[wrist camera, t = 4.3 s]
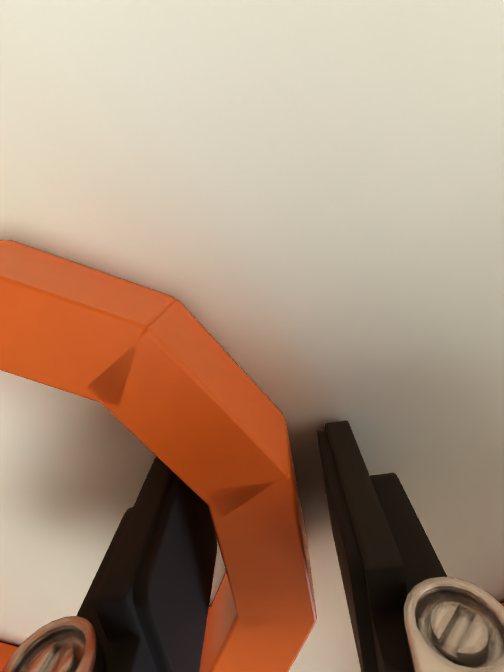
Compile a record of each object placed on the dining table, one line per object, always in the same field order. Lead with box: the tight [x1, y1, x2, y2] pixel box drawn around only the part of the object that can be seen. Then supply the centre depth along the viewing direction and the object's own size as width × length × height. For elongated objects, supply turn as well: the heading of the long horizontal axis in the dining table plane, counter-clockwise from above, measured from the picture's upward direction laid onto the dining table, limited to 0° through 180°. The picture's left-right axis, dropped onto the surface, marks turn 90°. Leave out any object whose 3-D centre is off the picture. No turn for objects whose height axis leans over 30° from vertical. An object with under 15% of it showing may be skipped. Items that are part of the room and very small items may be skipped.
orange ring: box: [0, 240, 317, 672], centre depth 9 cm, size 13×13×2 cm
